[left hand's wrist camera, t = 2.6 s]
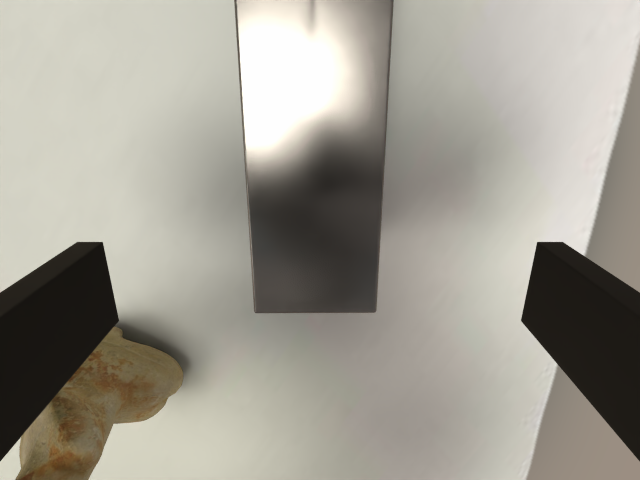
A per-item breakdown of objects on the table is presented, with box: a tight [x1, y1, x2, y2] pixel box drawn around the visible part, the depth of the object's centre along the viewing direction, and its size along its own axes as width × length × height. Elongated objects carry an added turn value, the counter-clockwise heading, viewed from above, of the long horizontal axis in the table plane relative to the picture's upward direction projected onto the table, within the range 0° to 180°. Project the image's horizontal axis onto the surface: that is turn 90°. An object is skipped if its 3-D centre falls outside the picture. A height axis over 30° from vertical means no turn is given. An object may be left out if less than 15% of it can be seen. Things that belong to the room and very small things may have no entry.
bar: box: [234, 0, 393, 313], centre depth 18 cm, size 24×5×9 cm, turn 0°
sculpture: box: [15, 327, 183, 480], centre depth 22 cm, size 6×7×15 cm
